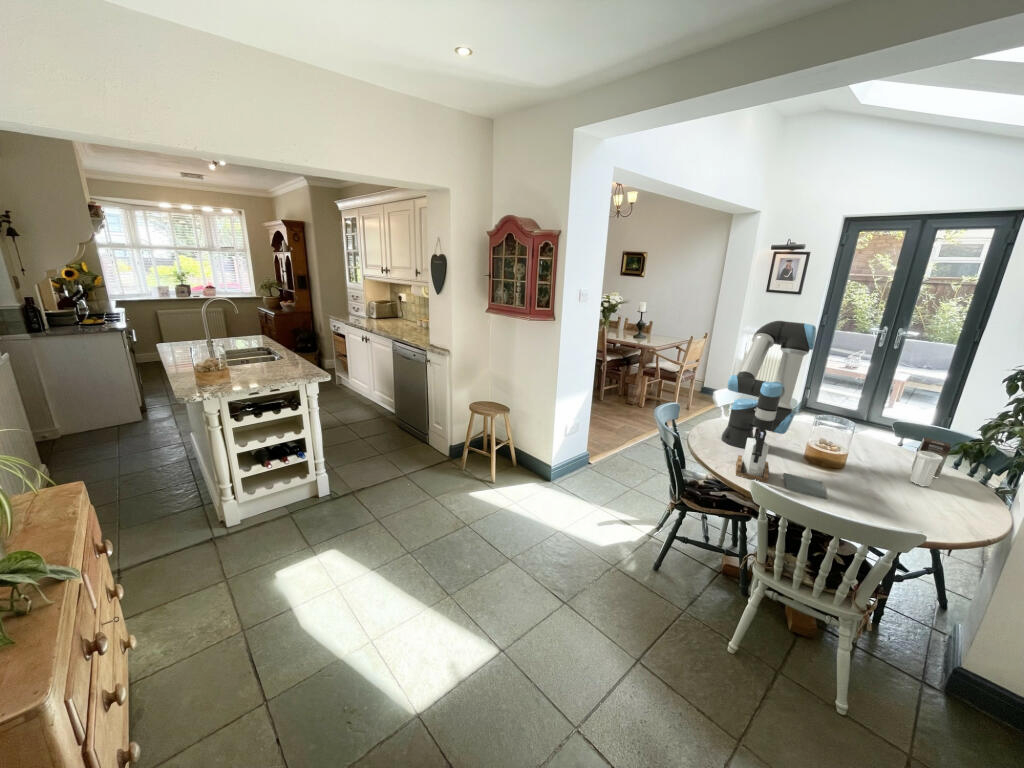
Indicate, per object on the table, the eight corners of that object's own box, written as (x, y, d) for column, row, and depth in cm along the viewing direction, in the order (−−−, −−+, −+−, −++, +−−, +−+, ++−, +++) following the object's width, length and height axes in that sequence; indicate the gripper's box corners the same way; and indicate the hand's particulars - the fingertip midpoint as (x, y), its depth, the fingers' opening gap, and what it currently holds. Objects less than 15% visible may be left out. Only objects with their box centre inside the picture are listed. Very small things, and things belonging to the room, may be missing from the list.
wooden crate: (735, 464, 193) (738, 454, 191) (765, 471, 187) (768, 461, 186) (735, 475, 183) (737, 465, 181) (766, 483, 177) (769, 472, 176)
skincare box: (762, 479, 181) (770, 446, 176) (745, 476, 182) (753, 444, 177) (755, 469, 188) (763, 438, 184) (739, 467, 190) (747, 436, 185)
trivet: (783, 474, 185) (783, 472, 185) (821, 483, 179) (821, 481, 179) (785, 488, 173) (786, 486, 173) (826, 499, 167) (827, 496, 167)
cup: (925, 481, 185) (936, 452, 181) (936, 490, 178) (947, 460, 174) (902, 477, 188) (913, 449, 183) (912, 486, 180) (924, 456, 176)
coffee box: (911, 471, 193) (923, 440, 189) (911, 467, 198) (922, 436, 193) (938, 479, 188) (951, 447, 183) (937, 474, 192) (950, 443, 187)
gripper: (753, 407, 189) (743, 449, 195) (754, 425, 168) (743, 471, 174) (772, 411, 186) (761, 454, 192) (776, 429, 165) (764, 476, 171)
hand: (753, 462), depth 183 cm, fingers open, 13 cm apart
